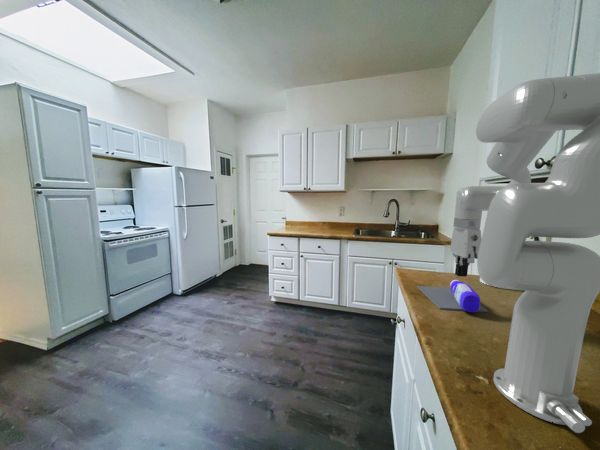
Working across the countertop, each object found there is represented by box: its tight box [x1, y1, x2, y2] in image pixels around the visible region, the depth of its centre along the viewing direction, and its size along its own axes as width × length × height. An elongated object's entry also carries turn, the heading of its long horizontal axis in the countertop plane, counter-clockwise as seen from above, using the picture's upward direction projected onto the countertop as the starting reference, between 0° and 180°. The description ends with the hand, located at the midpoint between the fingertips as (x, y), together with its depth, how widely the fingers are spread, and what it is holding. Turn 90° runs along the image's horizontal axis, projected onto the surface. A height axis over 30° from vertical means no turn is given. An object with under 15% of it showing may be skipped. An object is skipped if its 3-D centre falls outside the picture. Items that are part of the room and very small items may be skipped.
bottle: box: [449, 279, 481, 313], centre depth 87 cm, size 7×6×17 cm
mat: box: [416, 285, 489, 313], centre depth 92 cm, size 20×16×1 cm
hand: (460, 275), depth 83 cm, fingers closed
